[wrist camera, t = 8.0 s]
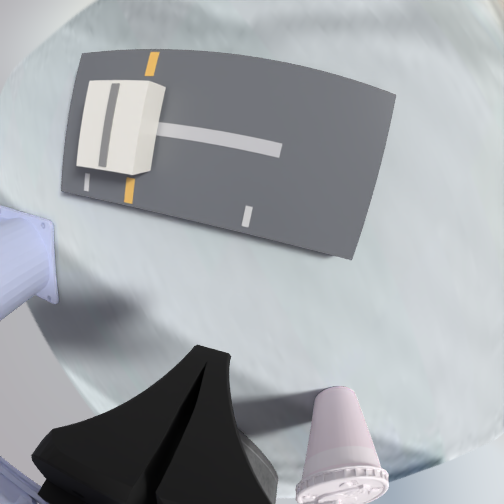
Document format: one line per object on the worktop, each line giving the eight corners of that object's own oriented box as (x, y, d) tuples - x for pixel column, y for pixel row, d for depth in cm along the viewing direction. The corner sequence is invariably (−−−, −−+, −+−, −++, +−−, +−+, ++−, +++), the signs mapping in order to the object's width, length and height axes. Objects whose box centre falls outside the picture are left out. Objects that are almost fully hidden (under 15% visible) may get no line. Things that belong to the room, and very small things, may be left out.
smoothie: (283, 404, 24) (268, 552, 11) (336, 362, 21) (352, 534, 8) (334, 429, 24) (338, 559, 11) (385, 393, 22) (415, 535, 9)
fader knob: (96, 162, 16) (75, 165, 14) (109, 85, 15) (88, 80, 13) (150, 170, 16) (131, 175, 14) (165, 87, 14) (148, 80, 12)
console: (73, 187, 19) (60, 191, 18) (94, 57, 16) (81, 53, 14) (347, 251, 18) (351, 260, 17) (388, 98, 15) (396, 94, 13)
